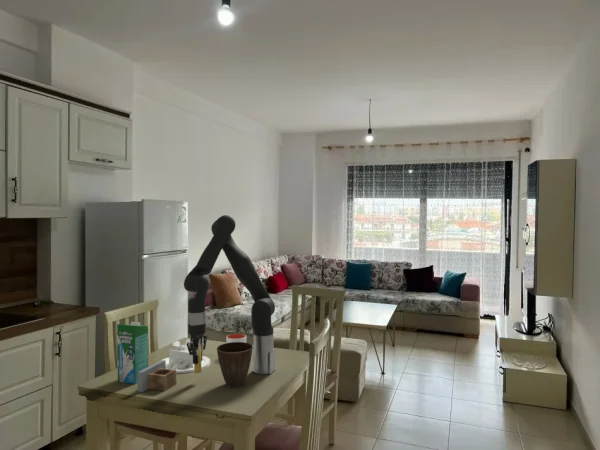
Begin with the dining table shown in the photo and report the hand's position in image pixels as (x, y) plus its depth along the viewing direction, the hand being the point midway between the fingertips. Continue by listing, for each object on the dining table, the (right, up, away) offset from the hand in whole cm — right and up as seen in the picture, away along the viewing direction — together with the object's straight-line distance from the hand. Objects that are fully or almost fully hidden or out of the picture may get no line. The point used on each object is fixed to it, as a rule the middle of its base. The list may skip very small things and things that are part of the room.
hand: (197, 362), depth 192 cm
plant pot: (+16, -9, -3) cm, 19 cm away
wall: (-18, -9, -3) cm, 21 cm away
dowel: (0, -4, 0) cm, 4 cm away
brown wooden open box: (-14, -9, -4) cm, 17 cm away
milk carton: (-29, -9, +4) cm, 30 cm away
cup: (+11, -8, +37) cm, 40 cm away
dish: (-12, -9, +24) cm, 28 cm away
